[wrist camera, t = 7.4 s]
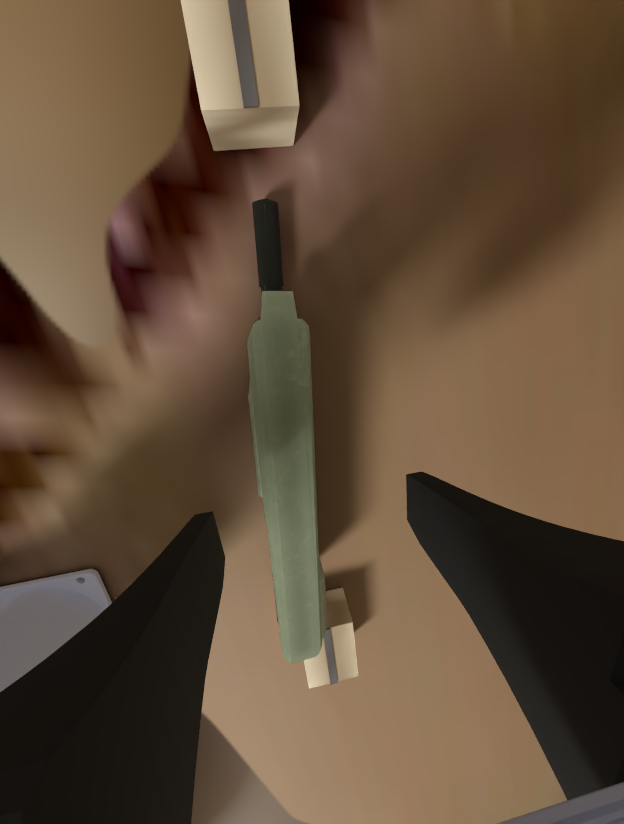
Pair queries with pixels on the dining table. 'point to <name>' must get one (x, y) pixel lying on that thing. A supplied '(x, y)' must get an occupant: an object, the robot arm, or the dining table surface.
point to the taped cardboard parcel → (260, 128)
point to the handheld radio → (285, 447)
